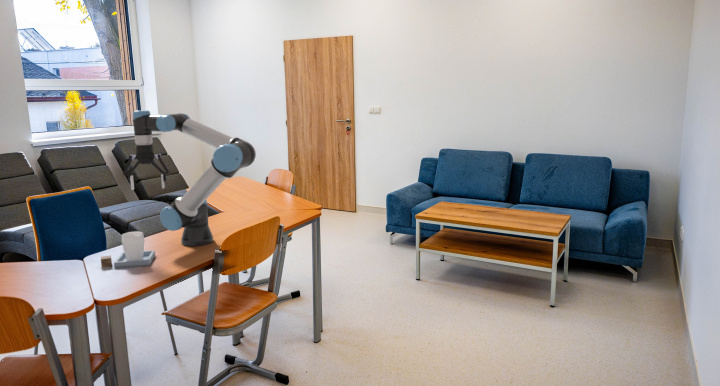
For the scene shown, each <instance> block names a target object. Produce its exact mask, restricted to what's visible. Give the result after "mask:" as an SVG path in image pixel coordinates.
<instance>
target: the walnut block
mask: <svg viewBox="0 0 720 386" xmlns="http://www.w3.org/2000/svg"><path fill="white" fill-rule="evenodd" d="M112 263H113V261H112V255H105V256H104V255H103V256H100V266H101V269H107V268H112V267H113V264H112ZM106 267H107V268H106Z"/></svg>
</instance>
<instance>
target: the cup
mask: <svg viewBox="0 0 720 386" xmlns="http://www.w3.org/2000/svg"><path fill="white" fill-rule="evenodd" d="M121 245H122V248H123V249H122V250H123V251H124V252H123V253H125V256H126V260H127V261H134V260H143V253H144V251H145V250H144V249H145V235H144V232H142V231H139V230H138V231H129V232H125V233H122V234H121Z"/></svg>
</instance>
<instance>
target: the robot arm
mask: <svg viewBox="0 0 720 386" xmlns="http://www.w3.org/2000/svg"><path fill="white" fill-rule="evenodd" d="M132 125H133V133H134V143H135V154H129V155H128V161H127V163H126V165H125V167H124V170H123V173H122V174H123V176H126V177H127V180H128V182H127V183H129V184H130V188H131V189H130V190H131V191H133V190H135V183H134V182H135V181H134V175H133V173H134V172H135V170H137V168H138V167H139V165H150V164H151V165H152V166H153V167H155V169H157V171H158V172H159V173H160V174H161V175H160V177H161V178H160V180H161V189H163V190H164V189H165V182H166V181H167V175H168V174H170V172H171V171H170V168H169V167H168V166H167V164H166V163H165V160H164V159H163V157H162V154H161V153H158V154H155V151H154V144H153V141H154V140H153V132H163V133H168V132H172V131H179V132H180V133H183V134H185V135H187V136H189V137H192V138H193V139H196V140H197V141H201V142H202V143H204V144H207V145H209V146H211V147H213V148H216V149H215V151H214V152H213V155H212V159H211V160H210V166H209V167H208V168H207V169H206V171H204V172H203V174H202V175H201V176H200V177H199V178H198V179H197V180H196V181H195V183H193V185H192V186H191V187H190V188H189V189H188V190H187V192H185V194H184V195H183V196H179V197H176V198H175V200H173V202H172V203H171V204H170V205H167V206H165V207H163V208H162V209H161V211H160V213H159V217H160V223H161V224H162V226H163V227H164V228H165V229H166V230H168V231H171V232H174V231H179V230H181V229H183V231H182V234H181V239H180V240H181V245H183V246H186V247H198V246H200V247H201V246H204V245H208V243H209V244H211V243H213V242H214V236H213V233H212V231H211V229H210V226H209V214H208V213H209V212H208V211H209V210H208V199H209V197H210V196H211V195H212V194H213V193H214V192H215V191H216V190H217V188H219V186H221V184H222V183H223V182H224V181H225V180H226V179H231V178H233V177H234V176H235V175H236V174H237V172H238V171H240V170H241V169H243V168H247V167H249V166H251V165H253V163H254V161H255V159H256V155H257V152H256V149H255V148H254V146H253V145H252V144H251V143H250V142H248V141H246V140H244V139H242V138H239V137H237V136H236V137H234V138H233V137H232V136H229V135H228V134H225V133H222V132H220V131H219V130H216V129H213V128H212V127H209V126H207V125H205V124H203V123H200V122H198V121H196V120H193V119H192V118H191V117H190V116H189V115H188V114H186V113H174V114H173V113H172V114H169V113H168V114H151V111H150V110H134V111H132ZM155 158H156V159H157V160H158V161H159V163H160V164H161V166H162V167H163V168H162V167H161V166H160V165H159V164H158V163H157V162H156V161H155V160H154V159H155ZM135 159H136V160H137V162H136V163H135V164H134V165H133V166H132V168H131V169H130V167H131V165H132V163H133V160H135ZM210 242H211V243H210Z"/></svg>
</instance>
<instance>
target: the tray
mask: <svg viewBox="0 0 720 386" xmlns="http://www.w3.org/2000/svg"><path fill="white" fill-rule="evenodd" d="M155 257H156V251H155V249H154V250H144V253H143V260H134V261H127V260H126V256H125V253H124V252H121V253H120V254H119V256H118V257H116V259H115V261H114V262H113V268H114V269H122V268H123V269H124V268H125V269H126V268H133V267H134V268H135V267H136V268H137V267H148V266H150V265H151V264H152V262H153V260H154V259H155Z"/></svg>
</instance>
